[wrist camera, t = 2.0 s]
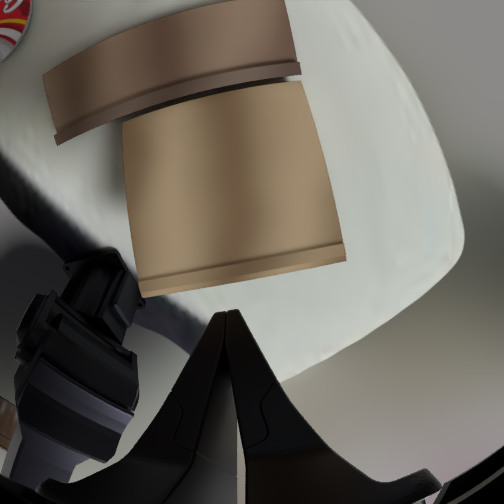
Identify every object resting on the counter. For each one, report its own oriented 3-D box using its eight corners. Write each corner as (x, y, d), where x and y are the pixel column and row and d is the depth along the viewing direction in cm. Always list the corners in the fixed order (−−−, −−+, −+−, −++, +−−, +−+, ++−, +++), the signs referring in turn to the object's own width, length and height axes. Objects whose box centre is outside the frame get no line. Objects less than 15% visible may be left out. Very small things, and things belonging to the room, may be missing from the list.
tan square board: (152, 294, 16) (141, 298, 14) (131, 131, 16) (121, 121, 14) (339, 260, 15) (346, 260, 14) (298, 93, 15) (300, 79, 14)
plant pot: (5, 407, 52) (-6, 444, 39) (-18, 384, 43) (-32, 426, 30) (40, 424, 55) (31, 464, 41) (19, 403, 46) (6, 450, 33)
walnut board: (71, 138, 16) (57, 145, 14) (53, 74, 13) (38, 75, 11) (294, 75, 15) (301, 74, 13) (278, 1, 12) (284, -8, 10)
